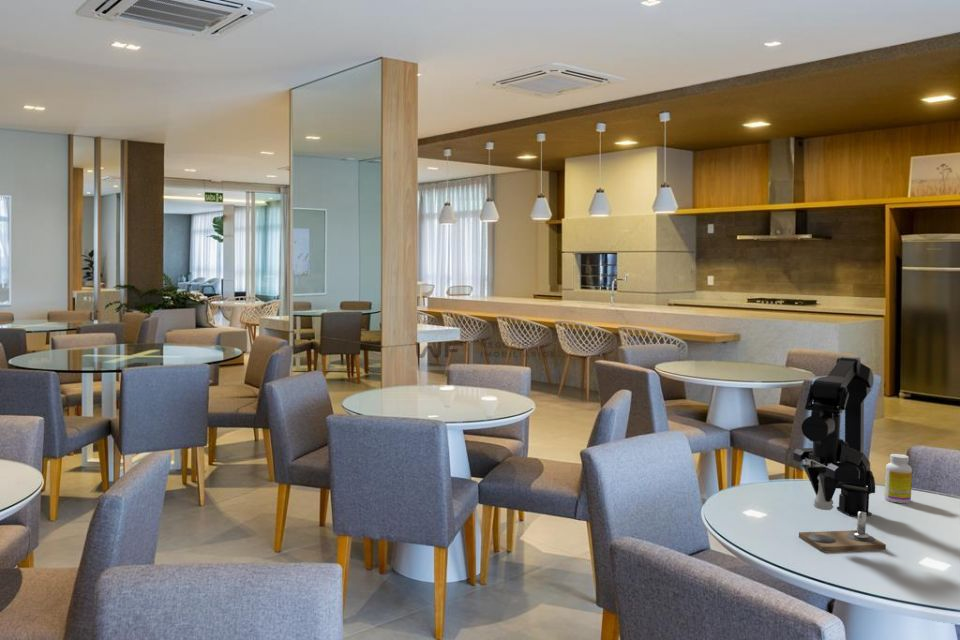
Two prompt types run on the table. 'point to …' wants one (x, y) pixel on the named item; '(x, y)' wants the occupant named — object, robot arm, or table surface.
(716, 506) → the table surface
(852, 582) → the table surface
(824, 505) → the rook chess piece
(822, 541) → the board
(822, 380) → the robot arm
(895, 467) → the supplement bottle
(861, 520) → the point post
